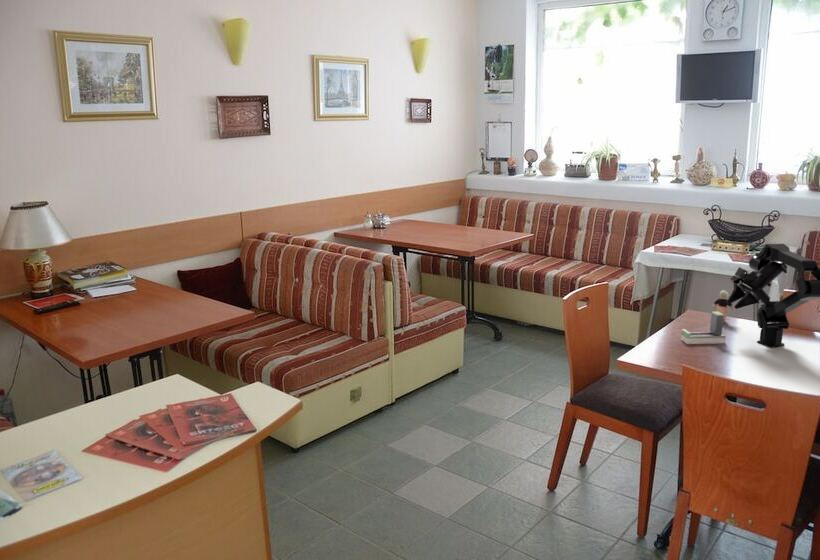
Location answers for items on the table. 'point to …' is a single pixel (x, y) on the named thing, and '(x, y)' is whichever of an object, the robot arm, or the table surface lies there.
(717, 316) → the fader tab
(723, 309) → the grandmother figurine
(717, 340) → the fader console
